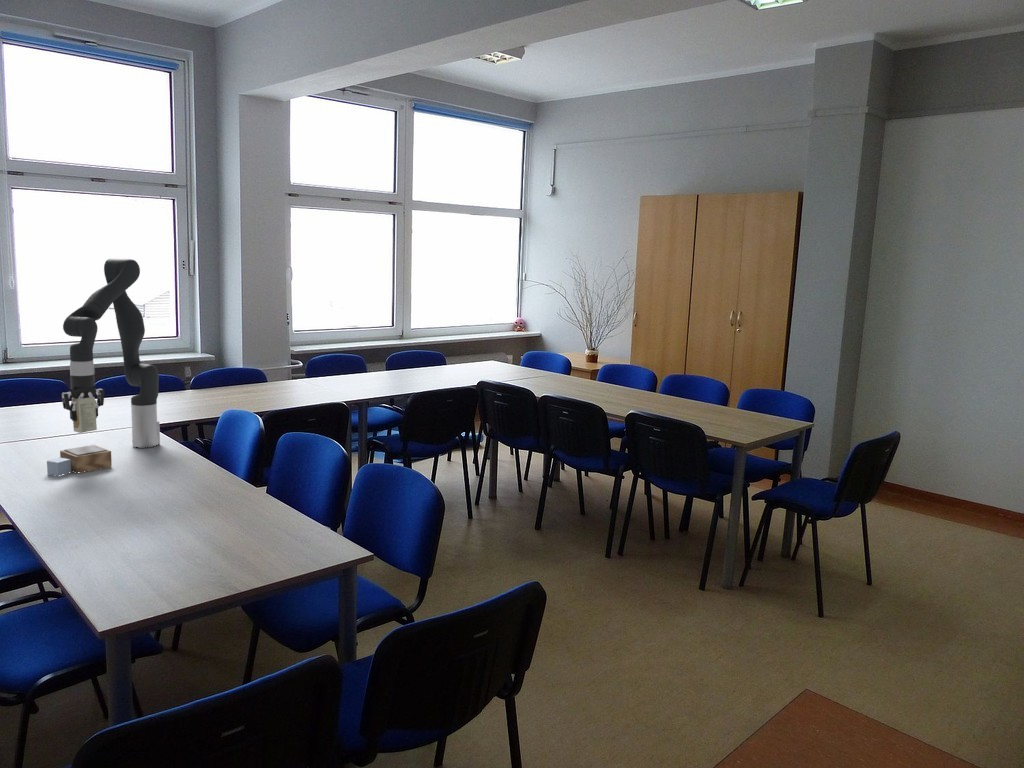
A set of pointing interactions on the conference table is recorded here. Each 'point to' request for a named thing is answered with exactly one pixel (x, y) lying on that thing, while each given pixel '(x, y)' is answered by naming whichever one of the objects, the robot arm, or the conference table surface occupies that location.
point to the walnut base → (87, 458)
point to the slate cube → (58, 466)
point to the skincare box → (85, 415)
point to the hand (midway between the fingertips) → (84, 419)
